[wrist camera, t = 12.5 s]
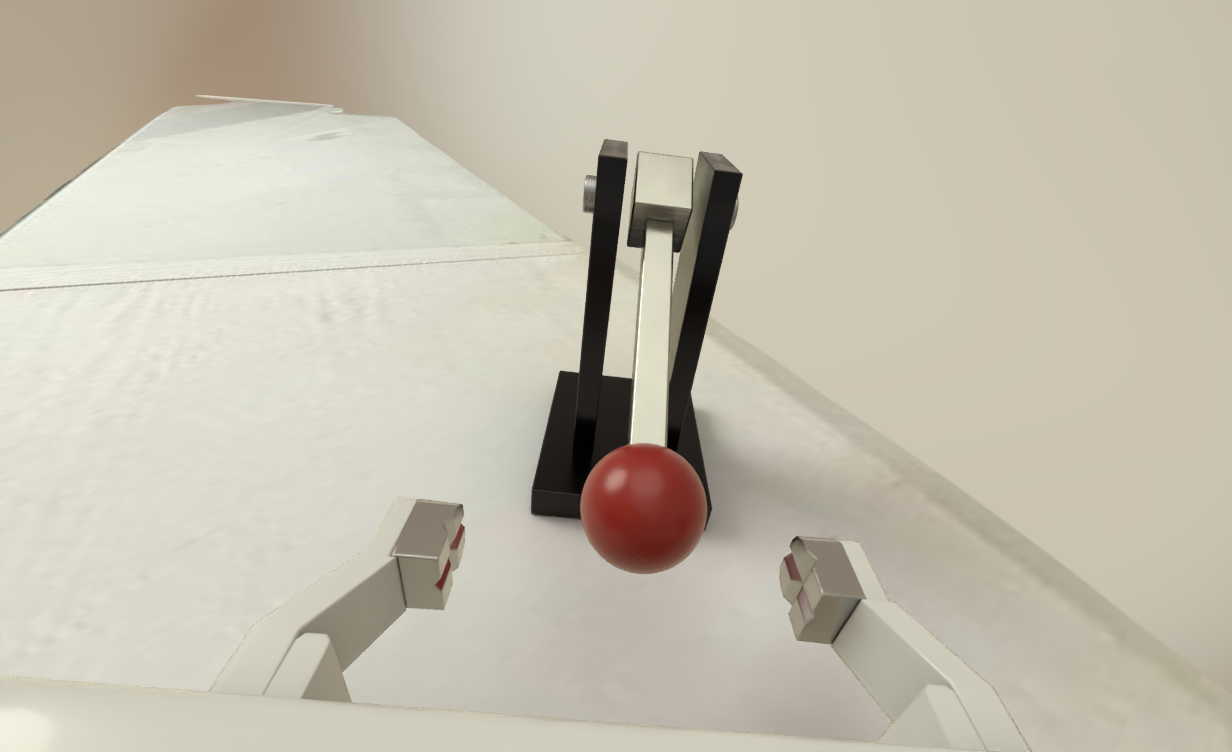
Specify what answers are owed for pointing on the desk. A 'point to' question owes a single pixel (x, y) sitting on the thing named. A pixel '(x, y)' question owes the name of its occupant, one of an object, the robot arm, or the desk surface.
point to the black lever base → (588, 401)
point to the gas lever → (649, 398)
